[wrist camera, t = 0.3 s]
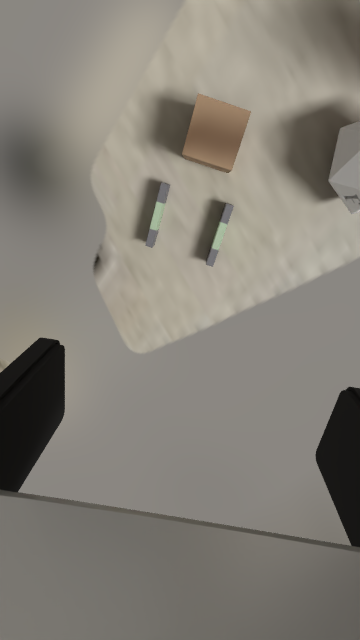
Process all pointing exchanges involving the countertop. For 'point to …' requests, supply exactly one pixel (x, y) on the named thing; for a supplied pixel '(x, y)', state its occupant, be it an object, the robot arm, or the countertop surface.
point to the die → (347, 167)
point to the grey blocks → (159, 212)
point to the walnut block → (215, 133)
